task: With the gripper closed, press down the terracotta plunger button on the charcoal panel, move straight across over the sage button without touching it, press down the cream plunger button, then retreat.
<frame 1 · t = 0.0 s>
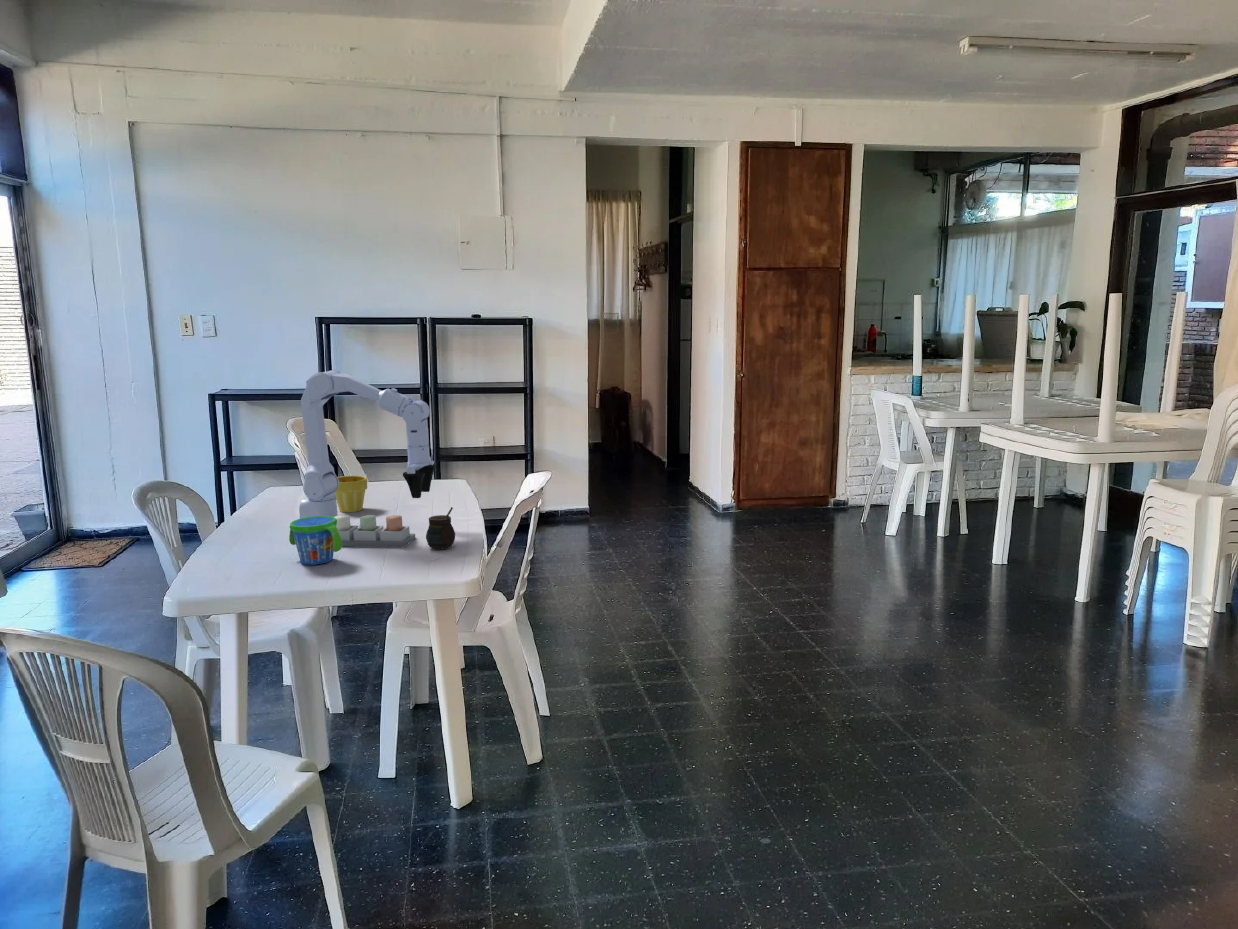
hand: (421, 494, 227), 10 cm above the table, tool pointing down, fingers open, 7 cm apart
cream button: (342, 524, 218), point 5 cm above the table, slide at 0.0 cm
mate gourd: (441, 548, 212), on the table
terracotta button: (394, 524, 216), point 5 cm above the table, slide at 0.0 cm
snack cup: (316, 562, 202), on the table
plant pot: (351, 510, 254), on the table
button panel: (369, 542, 218), on the table
sage button: (368, 524, 217), point 5 cm above the table, slide at 0.0 cm
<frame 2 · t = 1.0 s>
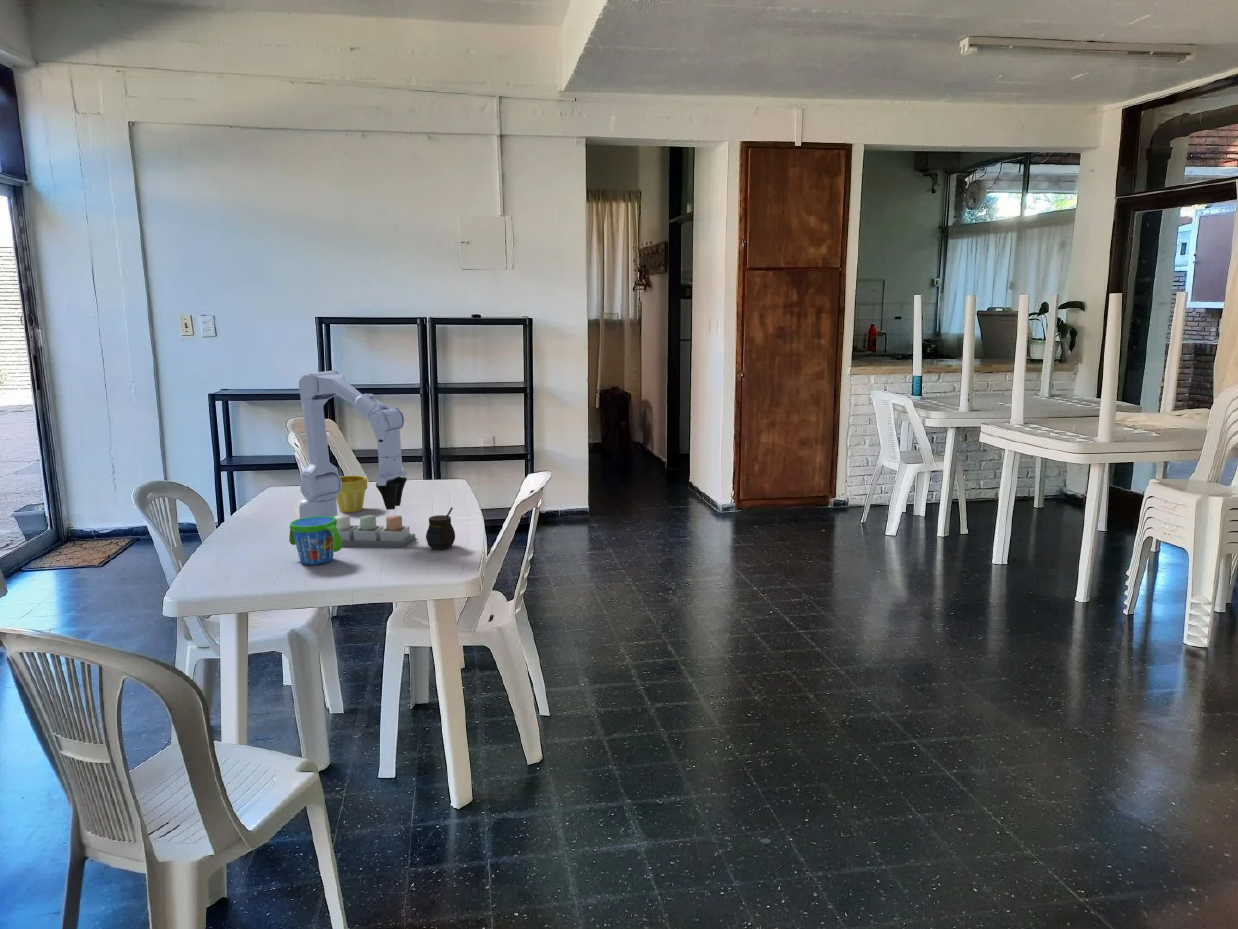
hand: (393, 507, 216), 9 cm above the table, tool pointing down, fingers open, 3 cm apart
nothing on the table moved.
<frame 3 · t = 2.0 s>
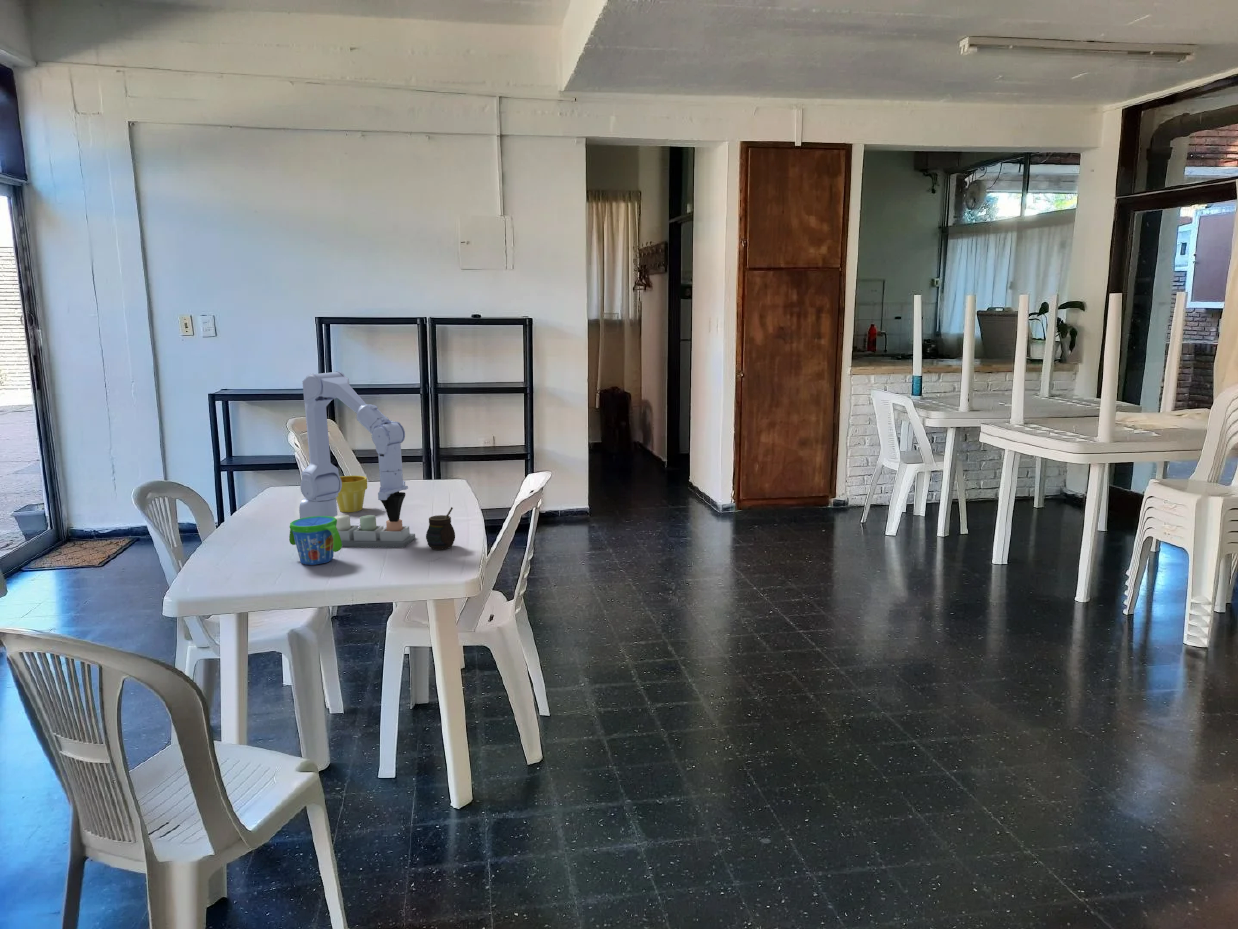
hand: (394, 521, 216), 6 cm above the table, tool pointing down, fingers closed, pressing on terracotta button
terracotta button: (394, 528, 217), point 4 cm above the table, slide at 1.0 cm, touching gripper
everything else where it was.
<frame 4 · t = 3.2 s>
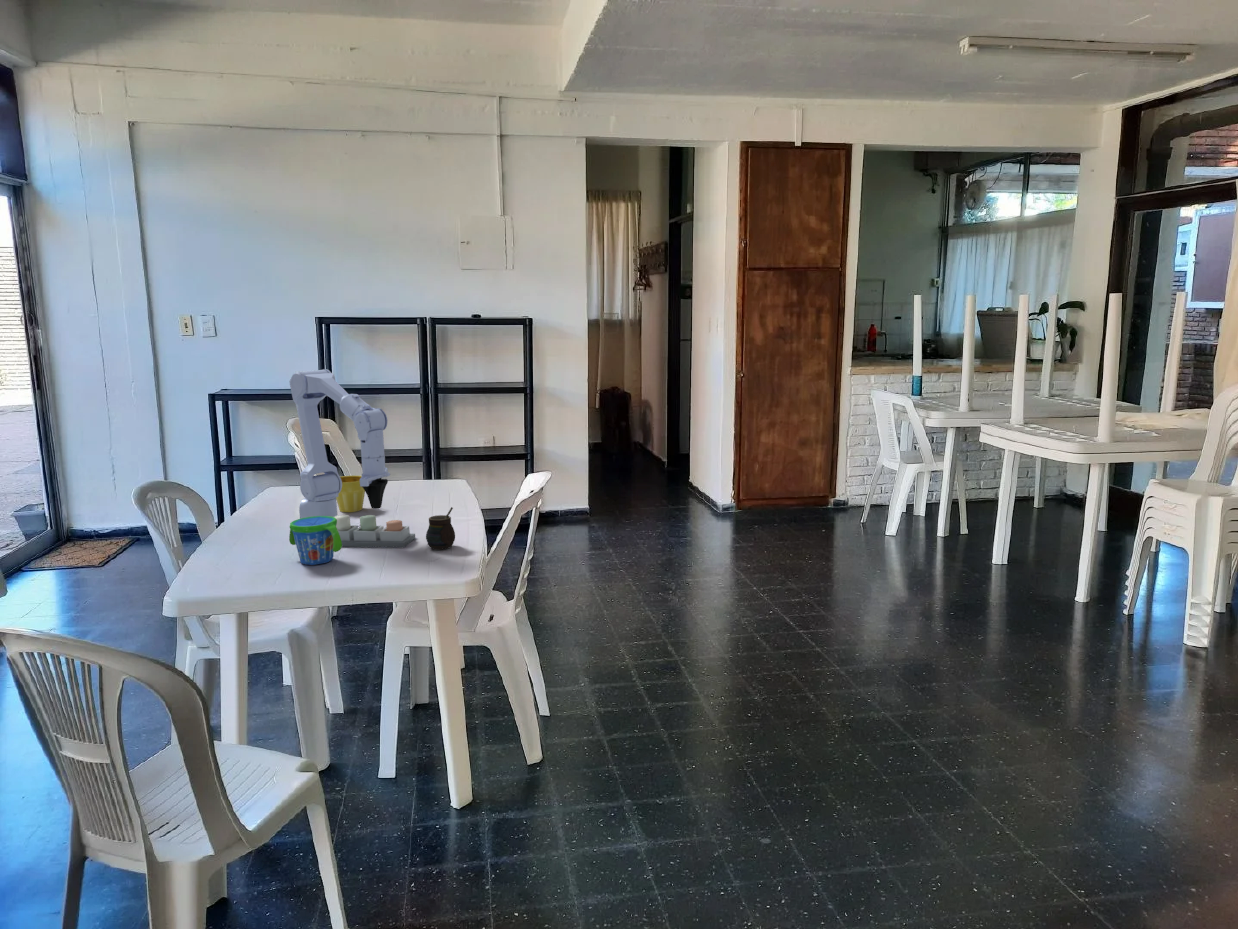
hand: (376, 507, 216), 9 cm above the table, tool pointing down, fingers closed
terracotta button: (394, 529, 217), point 4 cm above the table, slide at 1.3 cm
everything else where it was.
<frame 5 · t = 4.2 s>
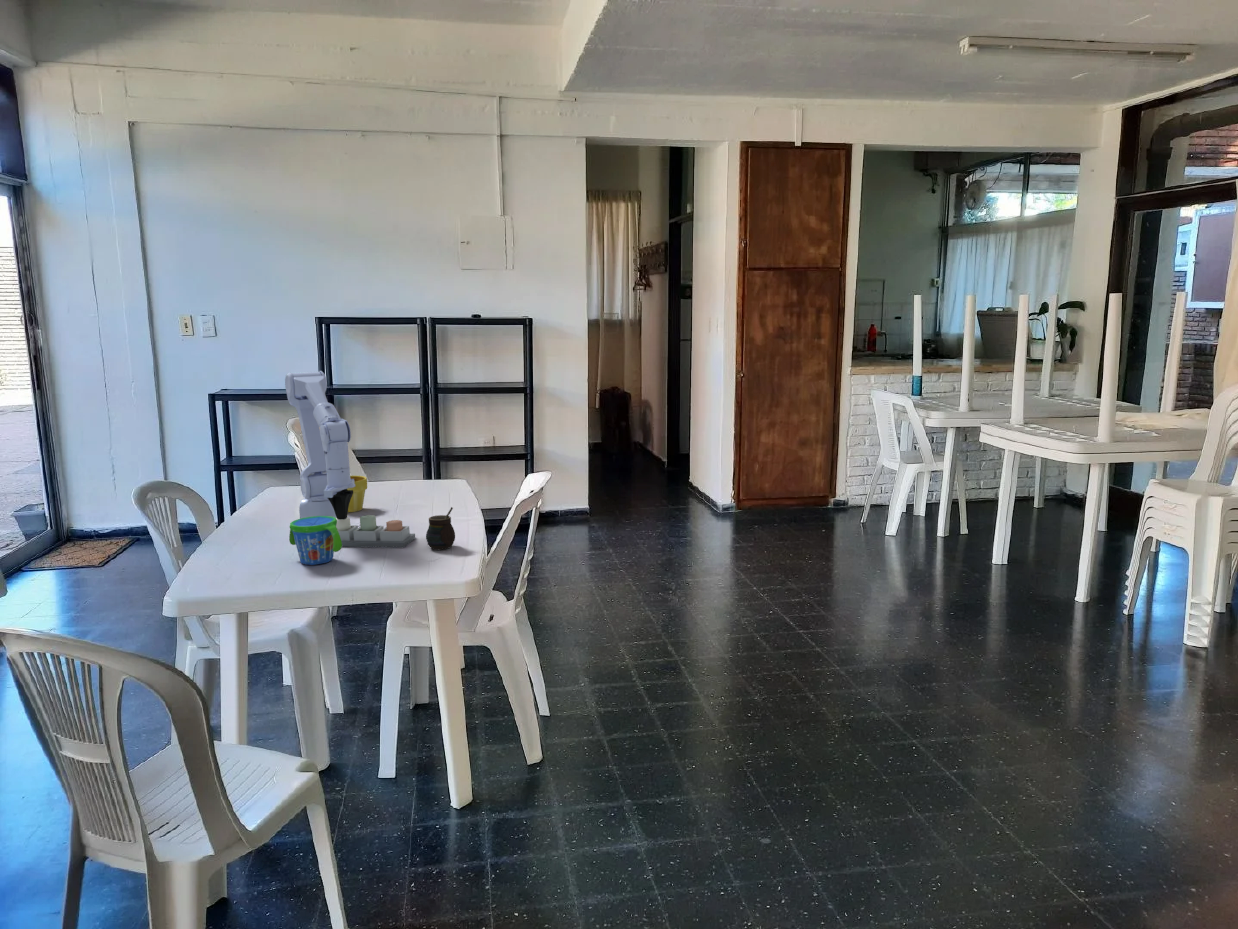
hand: (341, 518, 217), 6 cm above the table, tool pointing down, fingers closed, pressing on cream button
cream button: (342, 526, 218), point 4 cm above the table, slide at 0.5 cm, touching gripper
everything else where it was.
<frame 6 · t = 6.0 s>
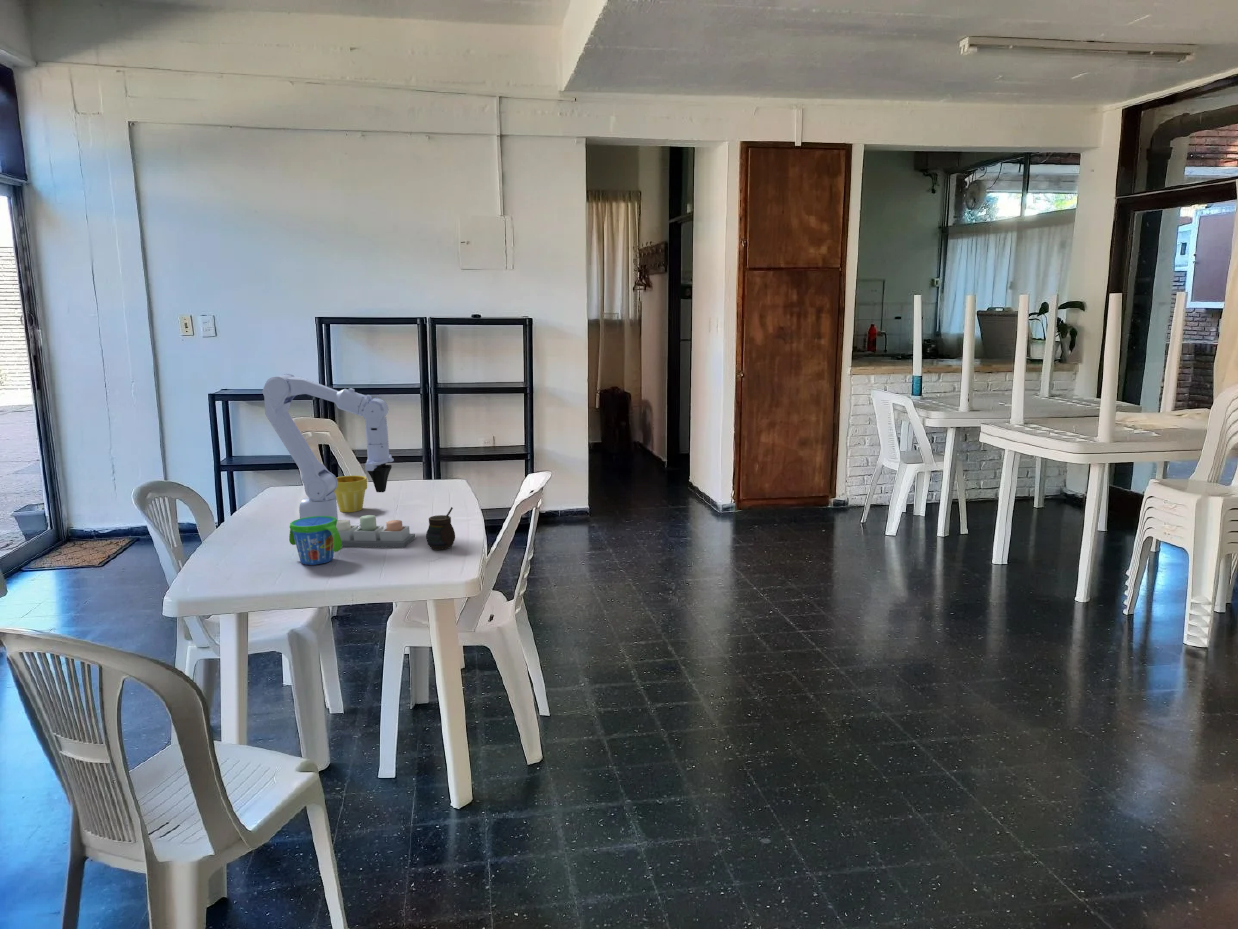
hand: (380, 491, 230), 10 cm above the table, tool pointing down, fingers closed
cream button: (342, 529, 218), point 4 cm above the table, slide at 1.3 cm
everything else where it was.
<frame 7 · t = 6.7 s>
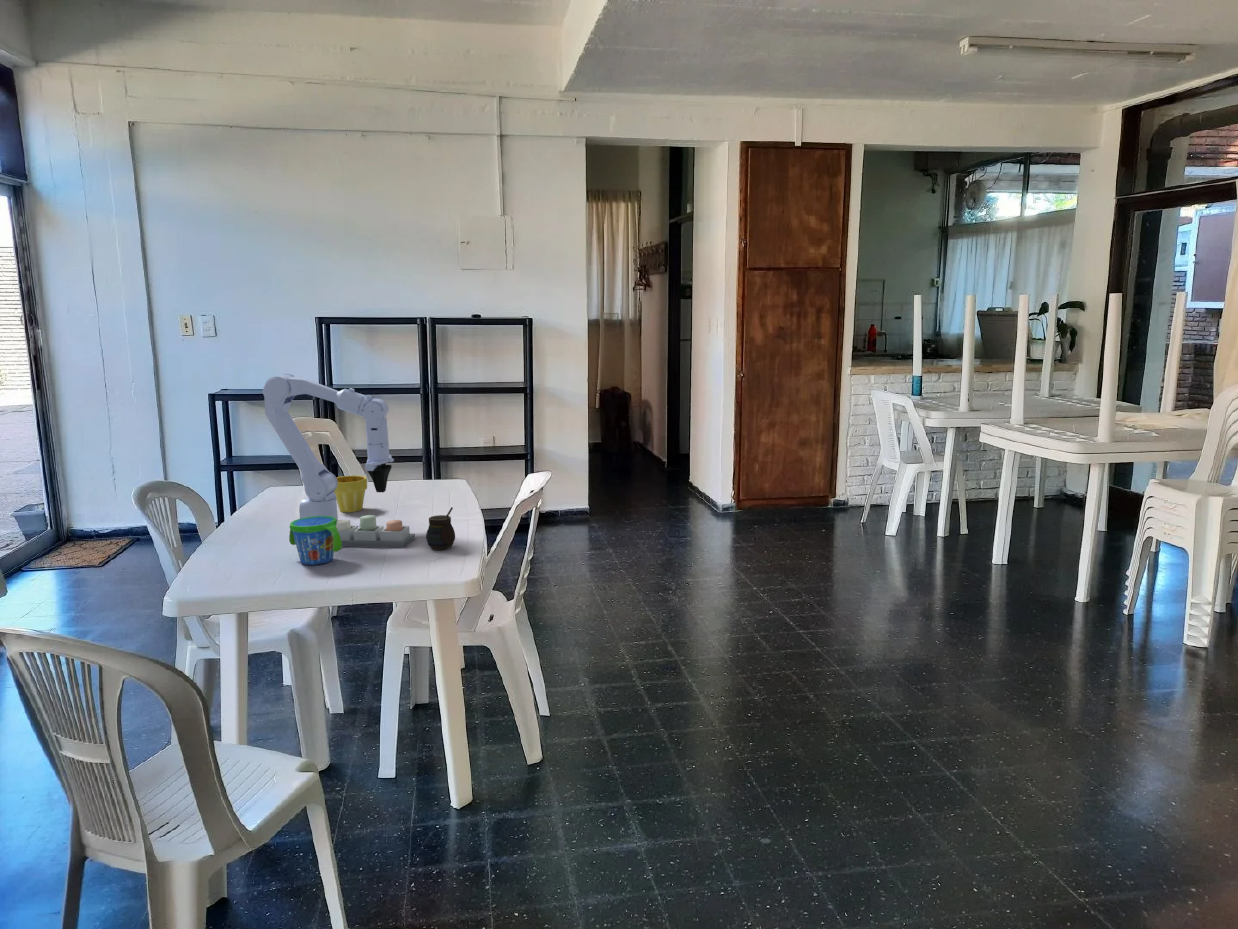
hand: (381, 491, 230), 10 cm above the table, tool pointing down, fingers closed
nothing on the table moved.
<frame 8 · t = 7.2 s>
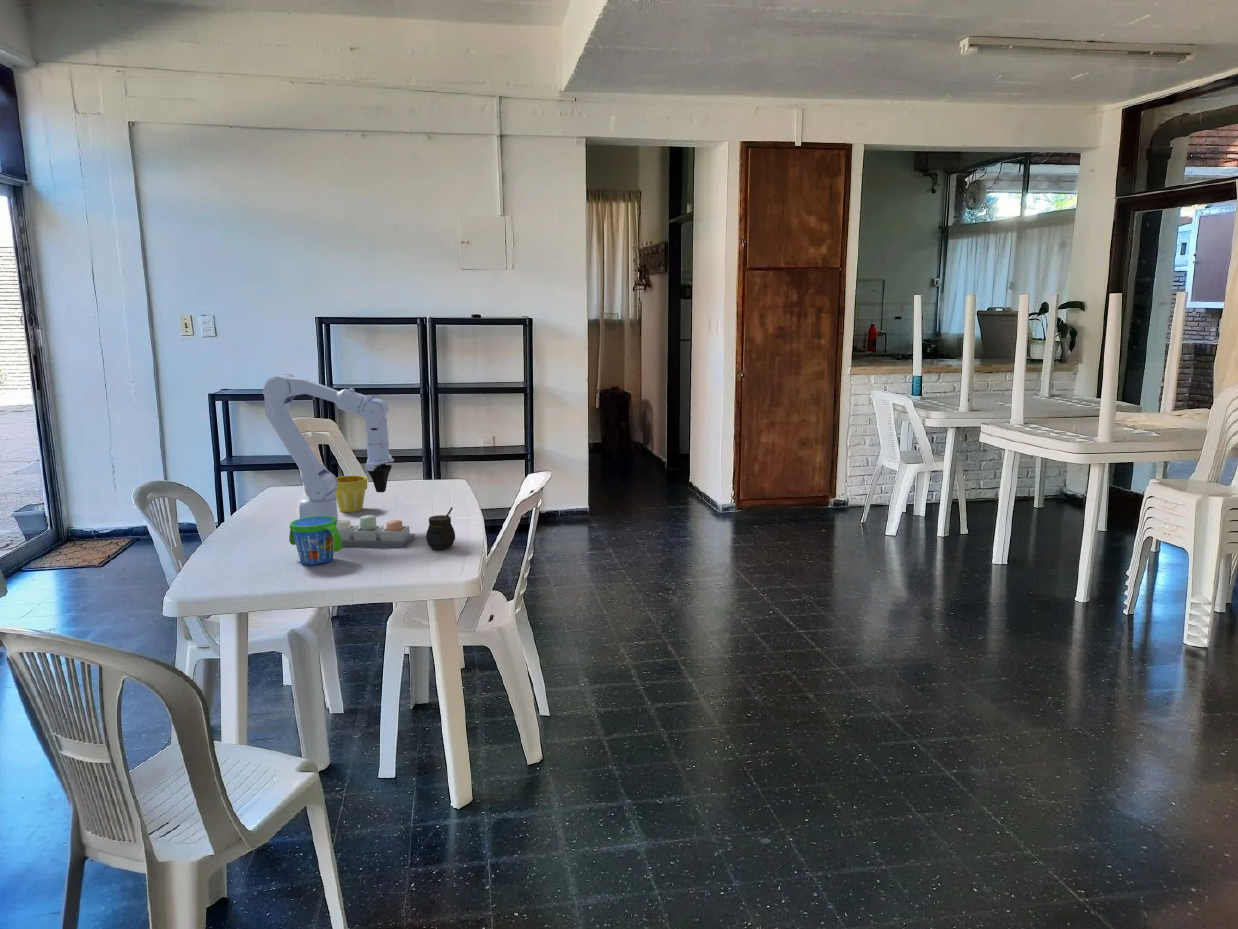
hand: (381, 491, 230), 10 cm above the table, tool pointing down, fingers closed
nothing on the table moved.
at the end: terracotta button slide at 1.3 cm; cream button slide at 1.3 cm; sage button slide at 0.0 cm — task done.
